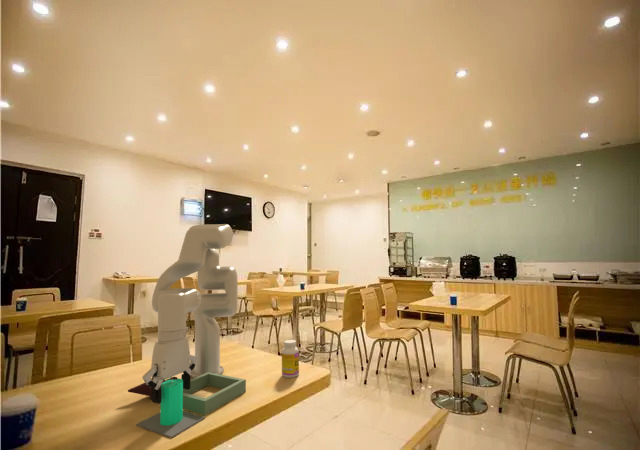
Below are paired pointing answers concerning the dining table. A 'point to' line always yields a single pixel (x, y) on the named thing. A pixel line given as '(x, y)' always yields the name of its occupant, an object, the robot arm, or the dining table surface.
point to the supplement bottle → (290, 359)
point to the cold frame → (206, 405)
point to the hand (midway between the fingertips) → (171, 395)
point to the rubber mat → (171, 430)
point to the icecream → (146, 388)
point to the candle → (171, 402)
